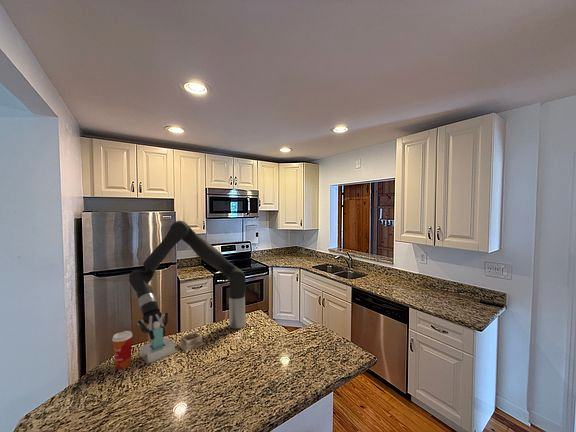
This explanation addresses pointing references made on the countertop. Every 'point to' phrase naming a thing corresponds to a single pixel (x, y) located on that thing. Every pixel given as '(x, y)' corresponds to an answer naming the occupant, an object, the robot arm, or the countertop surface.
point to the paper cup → (122, 349)
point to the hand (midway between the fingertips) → (158, 337)
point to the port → (156, 351)
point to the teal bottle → (157, 336)
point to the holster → (190, 341)
